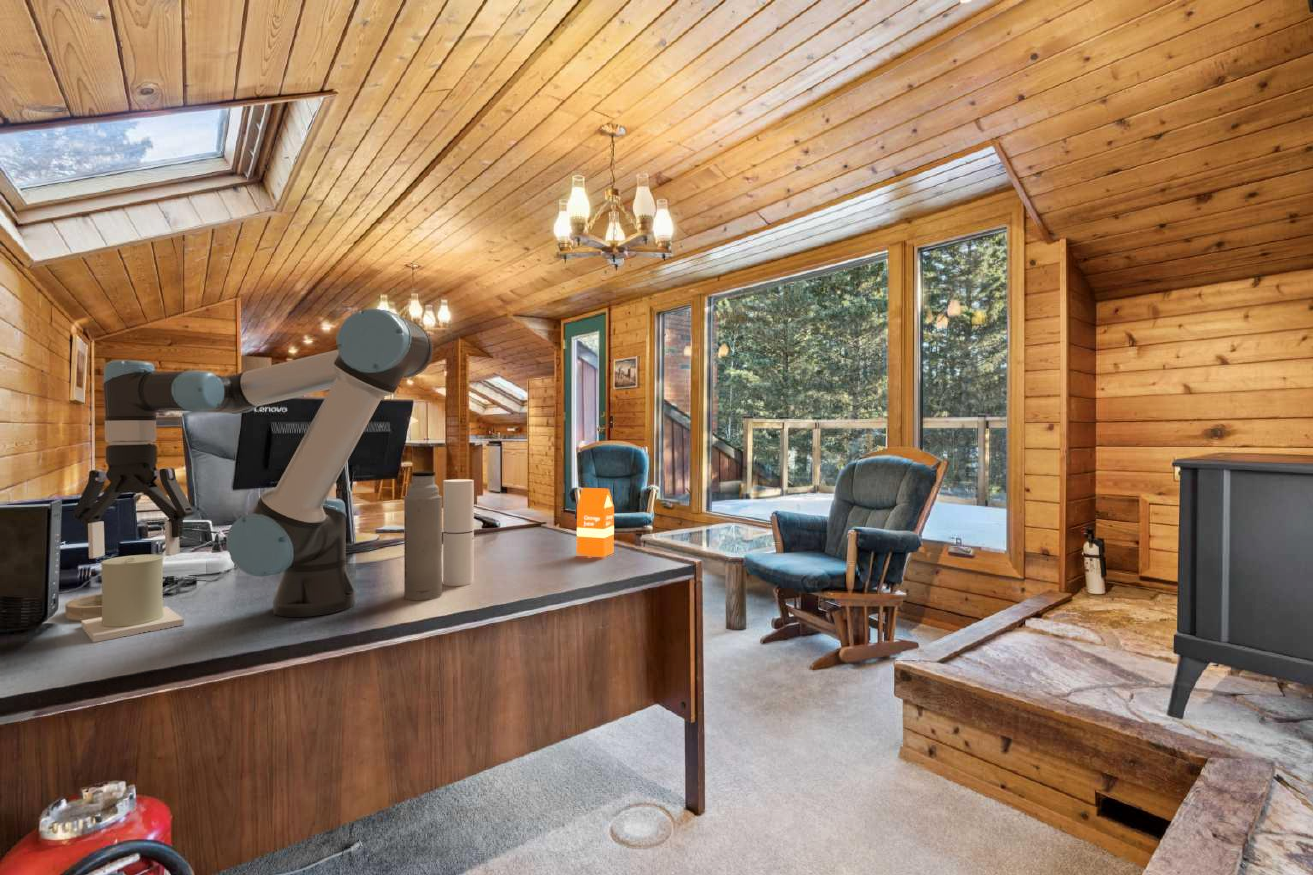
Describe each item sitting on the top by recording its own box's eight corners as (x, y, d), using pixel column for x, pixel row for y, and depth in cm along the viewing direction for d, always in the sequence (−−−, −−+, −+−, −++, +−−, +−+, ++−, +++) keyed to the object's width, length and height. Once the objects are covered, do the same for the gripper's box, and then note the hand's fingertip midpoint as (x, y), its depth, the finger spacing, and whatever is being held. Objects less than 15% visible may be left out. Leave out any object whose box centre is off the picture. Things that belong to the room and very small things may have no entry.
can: (96, 630, 115) (96, 563, 115) (105, 617, 122) (105, 554, 122) (161, 621, 120) (161, 558, 120) (165, 610, 127) (165, 550, 127)
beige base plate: (183, 625, 122) (183, 618, 122) (93, 642, 112) (93, 635, 112) (166, 612, 130) (166, 606, 130) (81, 626, 120) (81, 620, 120)
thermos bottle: (399, 600, 140) (399, 472, 139) (410, 591, 148) (410, 470, 147) (436, 600, 141) (436, 472, 140) (445, 590, 148) (445, 470, 148)
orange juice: (587, 551, 196) (587, 486, 196) (614, 553, 193) (614, 487, 193) (576, 556, 189) (576, 488, 189) (603, 558, 186) (604, 490, 186)
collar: (158, 611, 131) (158, 599, 131) (72, 626, 121) (72, 612, 121) (141, 597, 141) (141, 586, 141) (61, 610, 131) (61, 598, 131)
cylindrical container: (436, 584, 155) (436, 480, 154) (456, 577, 161) (456, 478, 161) (460, 587, 152) (460, 482, 151) (479, 580, 158) (479, 479, 158)
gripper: (213, 441, 125) (216, 550, 125) (78, 444, 123) (81, 553, 124) (187, 442, 118) (191, 557, 118) (43, 445, 116) (47, 561, 116)
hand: (135, 556), depth 121 cm, fingers open, 13 cm apart
